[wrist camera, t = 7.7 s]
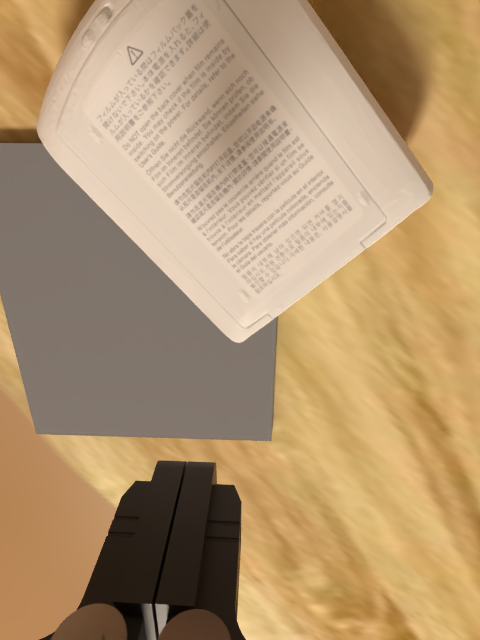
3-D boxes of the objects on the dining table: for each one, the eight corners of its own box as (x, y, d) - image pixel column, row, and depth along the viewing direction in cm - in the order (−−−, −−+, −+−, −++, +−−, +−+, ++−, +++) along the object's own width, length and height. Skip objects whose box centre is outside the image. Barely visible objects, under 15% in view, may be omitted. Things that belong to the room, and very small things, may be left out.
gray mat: (284, 144, 18) (284, 144, 18) (271, 435, 25) (271, 441, 24) (-32, 142, 18) (-39, 142, 18) (40, 428, 25) (36, 434, 25)
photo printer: (417, 176, 18) (216, -102, 14) (458, 189, 14) (196, -188, 11) (239, 320, 21) (44, 121, 18) (232, 363, 17) (-20, 118, 14)
